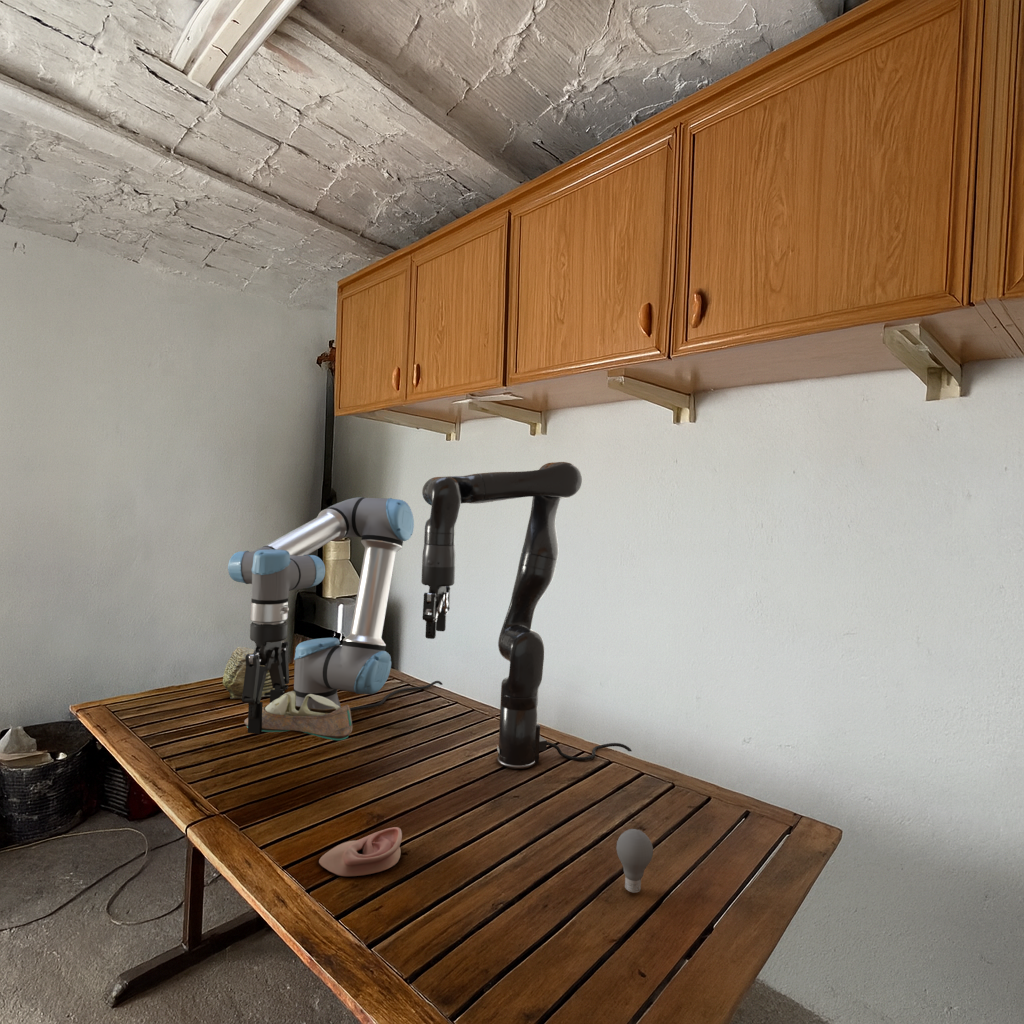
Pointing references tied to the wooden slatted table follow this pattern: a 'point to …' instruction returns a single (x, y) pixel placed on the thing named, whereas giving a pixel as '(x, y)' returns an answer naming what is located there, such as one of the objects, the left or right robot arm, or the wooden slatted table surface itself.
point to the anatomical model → (365, 854)
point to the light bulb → (634, 857)
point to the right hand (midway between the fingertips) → (435, 634)
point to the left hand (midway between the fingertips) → (265, 725)
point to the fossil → (241, 674)
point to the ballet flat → (307, 717)
